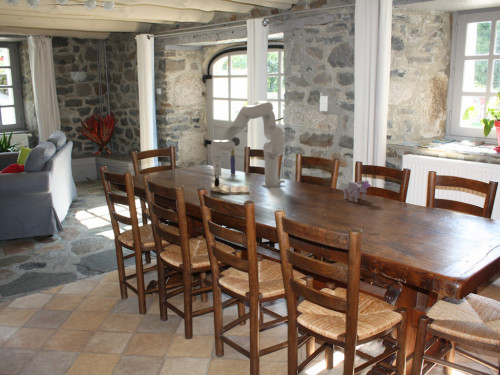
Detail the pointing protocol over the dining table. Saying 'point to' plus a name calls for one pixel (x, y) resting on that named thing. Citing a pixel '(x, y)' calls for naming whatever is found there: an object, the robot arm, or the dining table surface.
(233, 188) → the laid board
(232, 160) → the rubber mallet
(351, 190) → the toy sheep
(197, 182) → the dining table surface
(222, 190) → the oak plank
